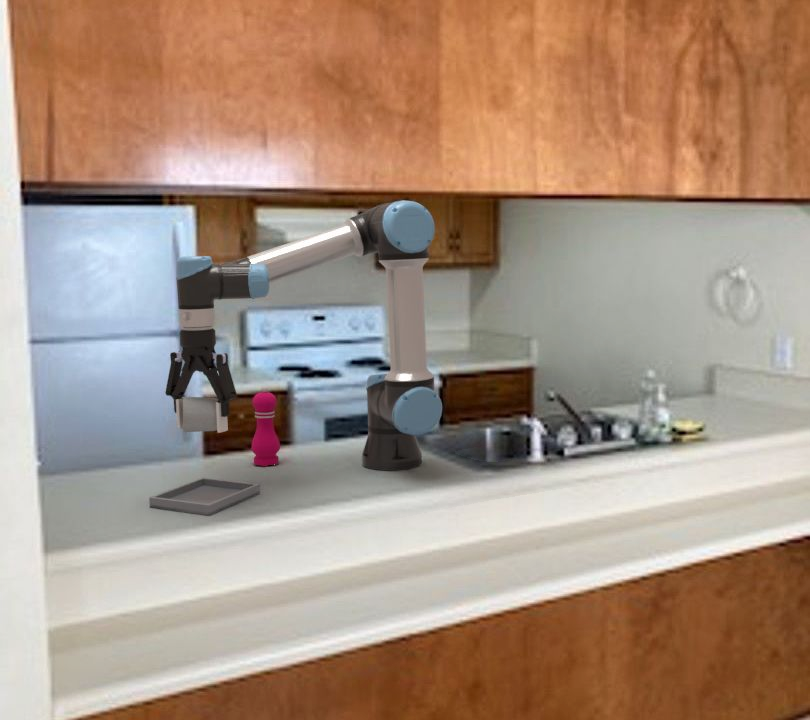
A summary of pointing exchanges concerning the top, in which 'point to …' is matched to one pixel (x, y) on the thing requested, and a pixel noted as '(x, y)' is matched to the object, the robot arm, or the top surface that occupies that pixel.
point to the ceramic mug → (199, 414)
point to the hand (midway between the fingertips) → (202, 429)
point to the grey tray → (204, 496)
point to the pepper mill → (265, 429)
